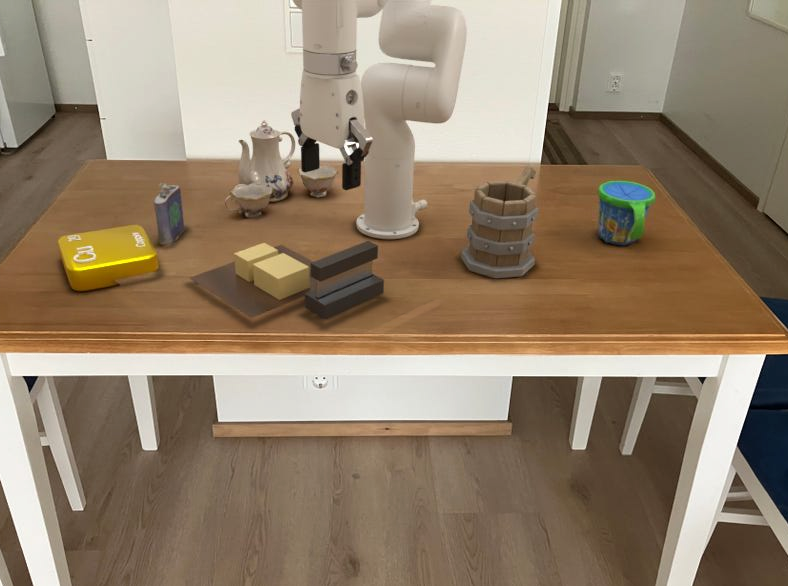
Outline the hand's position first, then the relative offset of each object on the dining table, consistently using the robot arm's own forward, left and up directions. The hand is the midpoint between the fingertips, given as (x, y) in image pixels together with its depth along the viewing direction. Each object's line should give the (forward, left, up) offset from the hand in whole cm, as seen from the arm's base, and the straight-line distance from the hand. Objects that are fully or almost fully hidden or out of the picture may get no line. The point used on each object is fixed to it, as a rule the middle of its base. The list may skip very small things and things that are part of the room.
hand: (330, 178), depth 119 cm
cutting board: (+5, -11, -22) cm, 25 cm away
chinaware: (-20, -41, -22) cm, 51 cm away
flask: (+7, -39, -22) cm, 46 cm away
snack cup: (-59, +19, -22) cm, 66 cm away
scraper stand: (0, +3, -22) cm, 22 cm away
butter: (+5, -7, -20) cm, 22 cm away
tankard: (-36, +9, -22) cm, 43 cm away
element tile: (+22, -36, -22) cm, 47 cm away
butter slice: (+5, -14, -20) cm, 25 cm away
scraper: (0, +3, -22) cm, 22 cm away
